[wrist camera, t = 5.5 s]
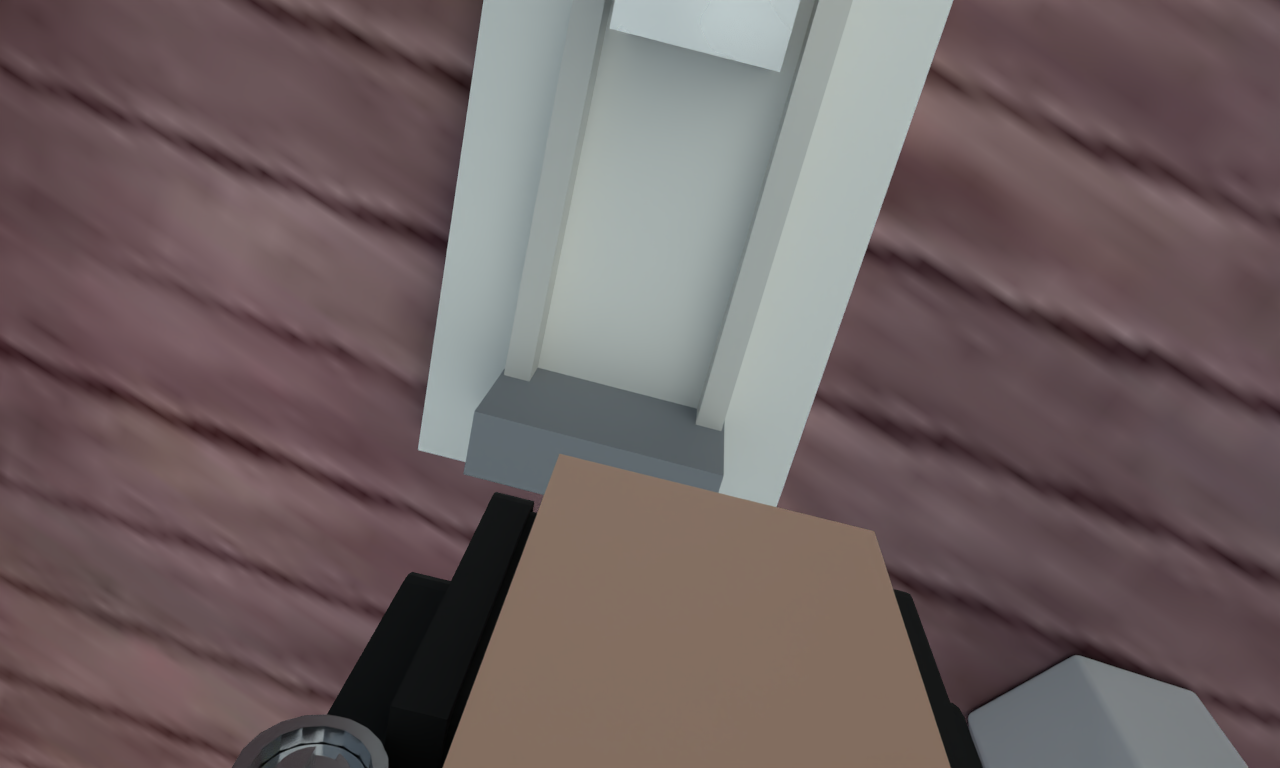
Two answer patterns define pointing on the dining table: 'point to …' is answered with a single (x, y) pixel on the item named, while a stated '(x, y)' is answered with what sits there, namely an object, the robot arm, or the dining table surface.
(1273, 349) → the dining table surface
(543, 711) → the block
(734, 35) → the grey sliding carriage block
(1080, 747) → the jar
